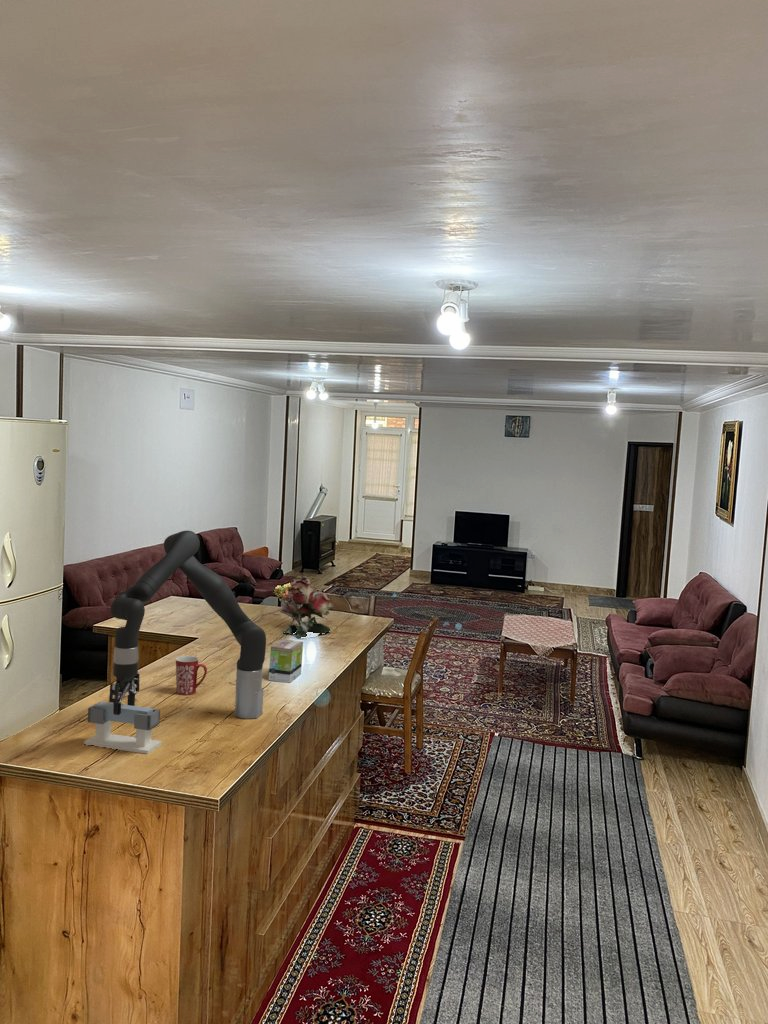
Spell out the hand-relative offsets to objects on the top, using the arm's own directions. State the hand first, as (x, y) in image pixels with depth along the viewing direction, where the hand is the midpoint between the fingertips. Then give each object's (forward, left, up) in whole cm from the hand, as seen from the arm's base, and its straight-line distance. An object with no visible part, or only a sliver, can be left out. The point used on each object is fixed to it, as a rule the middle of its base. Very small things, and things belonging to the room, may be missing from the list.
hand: (124, 710), depth 254 cm
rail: (0, 0, -3) cm, 3 cm away
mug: (+4, -57, -11) cm, 58 cm away
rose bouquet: (-4, -177, -11) cm, 177 cm away
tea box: (-23, -92, -11) cm, 96 cm away
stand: (0, 0, -11) cm, 11 cm away
